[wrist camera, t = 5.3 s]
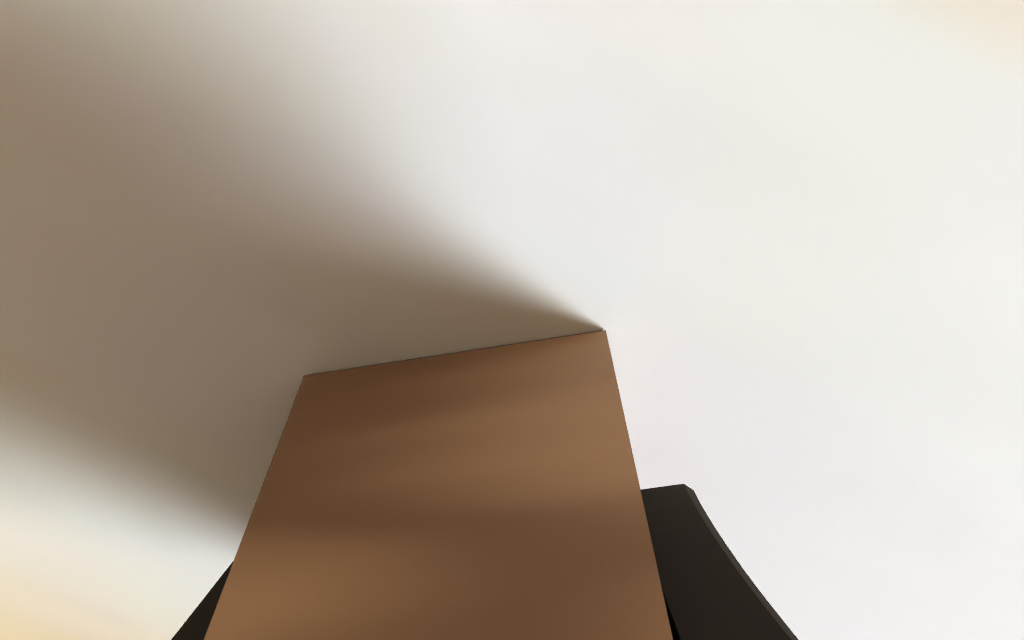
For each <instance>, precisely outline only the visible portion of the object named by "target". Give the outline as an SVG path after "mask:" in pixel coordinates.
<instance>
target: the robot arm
mask: <svg viewBox="0 0 1024 640" xmlns="http://www.w3.org/2000/svg"><path fill="white" fill-rule="evenodd" d="M640 491H641V495H642V500H643V504H644V509H645V513H646V518H647V523H648V527H649V532H650V536H651V541H652V546H653V550H654V555H655V559H656V564H657V569H658V573H659V578H660V582H661V587H662V592H663V596H664V601H665V605H666V610H667V614H668V619H669V624H670V628H671V633H672V637H673V640H798V639H797V637H796V636H795V635H794V634H793V633H792V631H791V630H790V629H789V628H788V626H787V625H786V624H785V623H784V621H783V620H782V619H781V617H780V616H779V615H778V614H777V612H776V611H775V610H774V609H773V607H772V606H771V605H770V604H769V602H768V601H767V600H766V599H765V597H764V596H763V595H762V593H761V592H760V591H759V590H758V588H757V587H756V586H755V584H754V583H753V582H752V580H751V579H750V578H749V576H748V575H747V574H746V572H745V571H744V570H743V568H742V567H741V565H740V564H739V562H738V561H737V560H736V558H735V557H734V555H733V554H732V552H731V551H730V550H729V548H728V547H727V545H726V544H725V542H724V541H723V539H722V538H721V536H720V535H719V533H718V532H717V530H716V529H715V527H714V525H713V524H712V522H711V521H710V519H709V517H708V516H707V514H706V512H705V511H704V509H703V507H702V505H701V504H700V502H699V500H698V498H697V496H696V494H695V492H694V490H692V489H691V488H689V487H688V486H686V485H685V484H679V485H672V486H664V487H657V488H650V489H643V490H640ZM233 562H234V561H233ZM233 562H232V563H231V565H230V566H229V567H228V569H227V570H226V571H225V572H224V574H223V575H222V576H221V577H220V579H219V580H218V581H217V582H216V584H215V585H214V586H213V588H212V589H211V590H210V591H209V593H208V594H207V595H206V596H205V598H204V599H203V600H202V602H201V603H200V604H199V605H198V607H197V608H196V609H195V610H194V612H193V613H192V614H191V615H190V617H189V618H188V619H187V621H186V622H185V623H184V624H183V626H182V627H181V628H180V629H179V631H178V632H177V633H176V634H175V636H174V637H173V638H172V639H171V640H204V638H205V635H206V633H207V630H208V628H209V625H210V622H211V620H212V617H213V614H214V612H215V609H216V606H217V604H218V601H219V599H220V596H221V593H222V591H223V588H224V585H225V583H226V580H227V578H228V575H229V572H230V570H231V567H232V564H233Z"/></svg>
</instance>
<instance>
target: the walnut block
mask: <svg viewBox="0 0 1024 640" xmlns="http://www.w3.org/2000/svg"><path fill="white" fill-rule="evenodd" d="M204 640H673V637H672V633H671V628H670V624H669V619H668V614H667V610H666V605H665V601H664V596H663V592H662V587H661V582H660V578H659V573H658V569H657V564H656V559H655V555H654V550H653V546H652V541H651V536H650V532H649V527H648V523H647V518H646V513H645V509H644V504H643V500H642V495H641V491H640V486H639V481H638V477H637V472H636V468H635V463H634V458H633V454H632V449H631V445H630V440H629V435H628V431H627V426H626V422H625V417H624V412H623V408H622V403H621V399H620V394H619V389H618V385H617V380H616V376H615V371H614V367H613V362H612V357H611V353H610V348H609V344H608V339H607V334H606V330H605V331H598V332H592V333H585V334H578V335H572V336H565V337H558V338H552V339H545V340H539V341H532V342H525V343H519V344H512V345H505V346H499V347H492V348H486V349H479V350H472V351H466V352H459V353H452V354H446V355H439V356H433V357H426V358H419V359H413V360H406V361H399V362H393V363H386V364H380V365H373V366H366V367H360V368H353V369H346V370H340V371H333V372H327V373H320V374H313V375H307V376H304V378H303V380H302V383H301V386H300V388H299V391H298V394H297V396H296V399H295V401H294V404H293V407H292V409H291V412H290V415H289V417H288V420H287V422H286V425H285V428H284V430H283V433H282V436H281V438H280V441H279V443H278V446H277V449H276V451H275V454H274V457H273V459H272V462H271V465H270V467H269V470H268V472H267V475H266V478H265V480H264V483H263V486H262V488H261V491H260V493H259V496H258V499H257V501H256V504H255V507H254V509H253V512H252V514H251V517H250V520H249V522H248V525H247V528H246V530H245V533H244V536H243V538H242V541H241V543H240V546H239V549H238V551H237V554H236V557H235V559H234V562H233V564H232V567H231V570H230V572H229V575H228V578H227V580H226V583H225V585H224V588H223V591H222V593H221V596H220V599H219V601H218V604H217V606H216V609H215V612H214V614H213V617H212V620H211V622H210V625H209V628H208V630H207V633H206V635H205V638H204Z"/></svg>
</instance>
